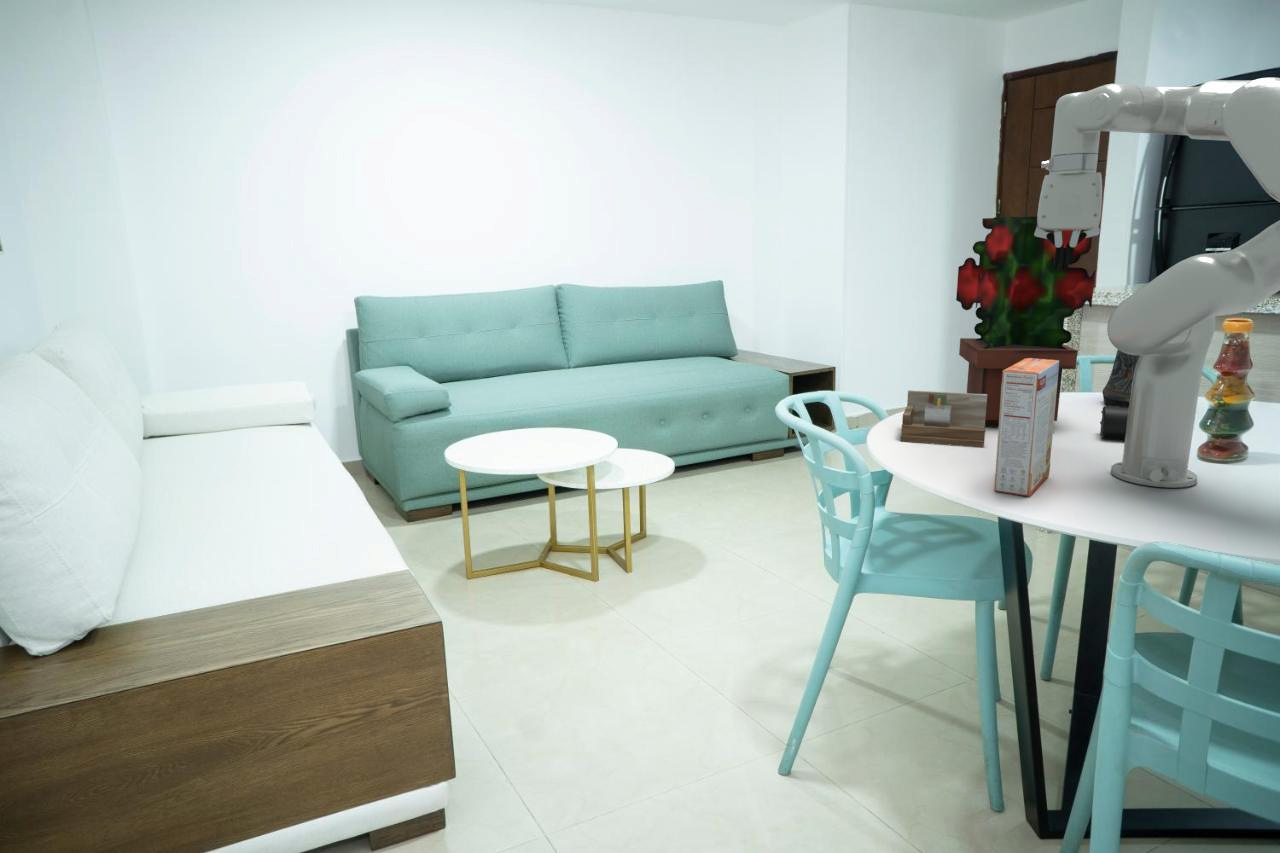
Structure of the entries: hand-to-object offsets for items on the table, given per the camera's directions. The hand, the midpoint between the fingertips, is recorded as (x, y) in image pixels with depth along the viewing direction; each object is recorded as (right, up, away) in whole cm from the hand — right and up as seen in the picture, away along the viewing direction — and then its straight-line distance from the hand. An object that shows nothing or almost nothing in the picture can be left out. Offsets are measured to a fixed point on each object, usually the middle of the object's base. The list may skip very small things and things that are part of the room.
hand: (1062, 268), depth 147 cm
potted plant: (+5, -28, +32) cm, 43 cm away
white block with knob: (-16, -30, +20) cm, 40 cm away
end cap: (+21, -32, +15) cm, 41 cm away
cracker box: (-14, -40, -12) cm, 44 cm away
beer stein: (+42, -25, +42) cm, 64 cm away
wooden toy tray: (-15, -32, +20) cm, 40 cm away
